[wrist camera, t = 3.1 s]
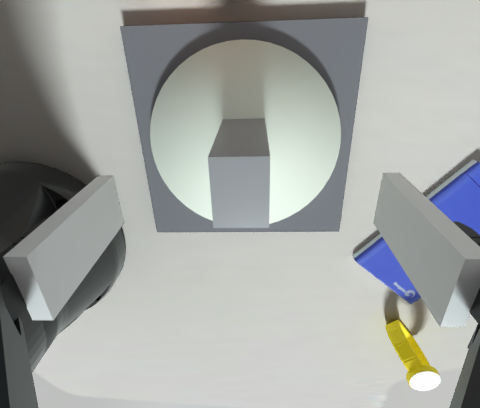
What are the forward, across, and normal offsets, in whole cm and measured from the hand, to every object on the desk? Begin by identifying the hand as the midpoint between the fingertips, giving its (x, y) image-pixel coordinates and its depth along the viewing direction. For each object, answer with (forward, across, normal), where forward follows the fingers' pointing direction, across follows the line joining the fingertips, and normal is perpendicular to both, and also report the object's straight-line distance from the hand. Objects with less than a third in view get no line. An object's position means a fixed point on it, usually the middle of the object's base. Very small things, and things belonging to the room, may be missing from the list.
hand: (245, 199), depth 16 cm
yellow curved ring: (+11, -16, +21) cm, 28 cm away
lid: (+9, 0, 0) cm, 9 cm away
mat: (+10, 0, 0) cm, 10 cm away
